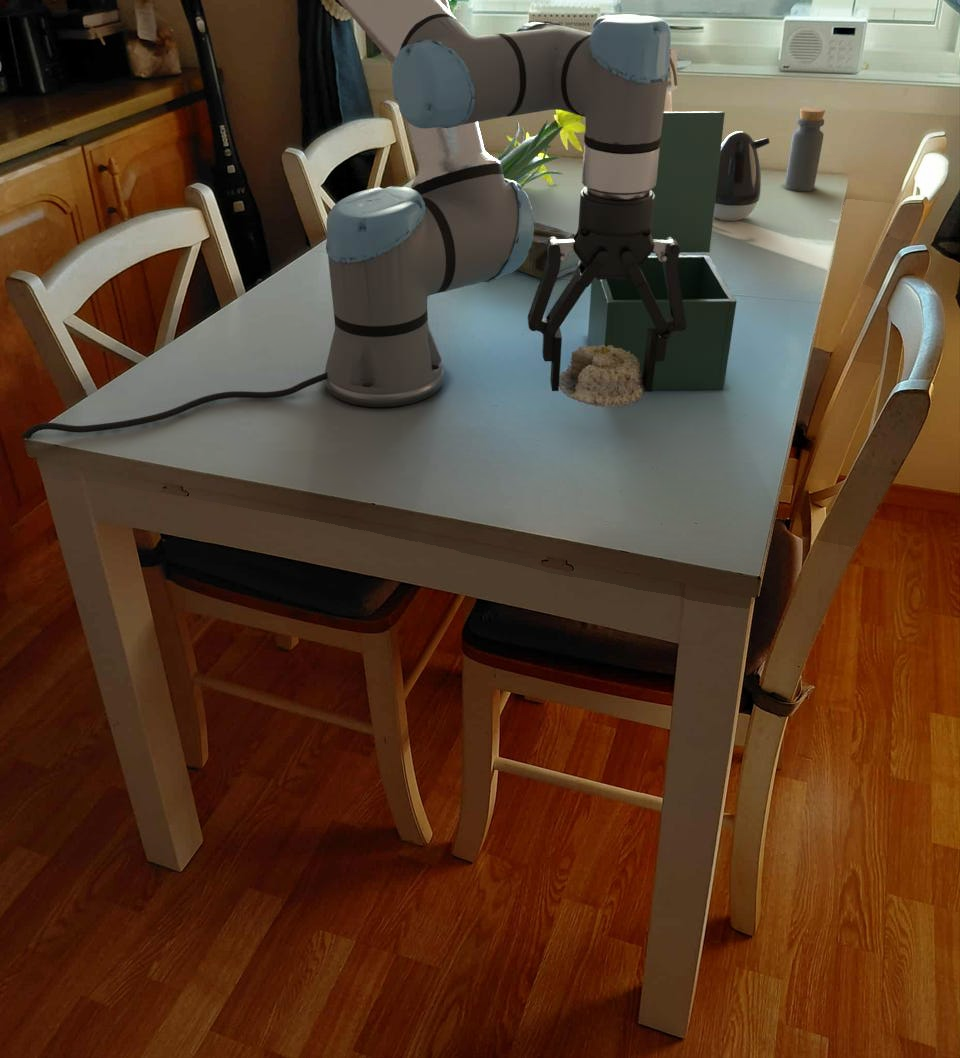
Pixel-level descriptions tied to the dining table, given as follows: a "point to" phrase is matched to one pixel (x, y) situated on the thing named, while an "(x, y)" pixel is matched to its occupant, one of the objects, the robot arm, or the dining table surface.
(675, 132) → the bin lid
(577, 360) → the cake
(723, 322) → the bin
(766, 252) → the dining table surface
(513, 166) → the daffodil flowers
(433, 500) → the dining table surface
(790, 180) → the bottle
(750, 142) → the pump dispenser
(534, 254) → the beverage carton
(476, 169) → the robot arm
